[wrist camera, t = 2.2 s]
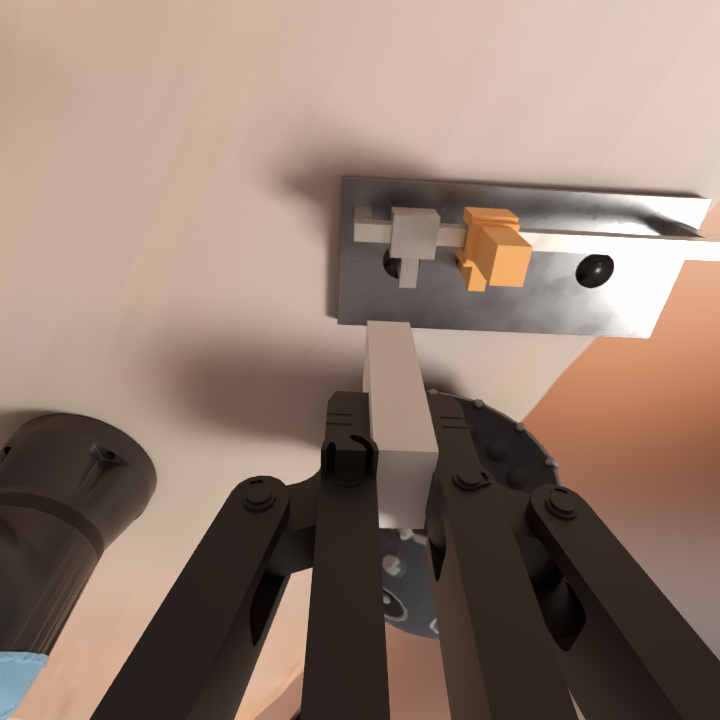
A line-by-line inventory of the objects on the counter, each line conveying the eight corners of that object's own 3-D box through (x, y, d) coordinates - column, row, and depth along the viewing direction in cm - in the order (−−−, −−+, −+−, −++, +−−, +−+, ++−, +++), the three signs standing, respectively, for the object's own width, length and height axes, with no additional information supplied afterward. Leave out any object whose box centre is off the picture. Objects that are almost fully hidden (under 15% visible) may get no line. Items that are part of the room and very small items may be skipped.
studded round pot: (328, 371, 43) (312, 560, 26) (530, 388, 44) (641, 578, 27) (321, 454, 48) (304, 654, 31) (501, 466, 50) (577, 665, 33)
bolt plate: (337, 319, 40) (337, 324, 39) (342, 176, 34) (342, 178, 33) (642, 332, 41) (649, 338, 40) (702, 196, 35) (712, 200, 34)
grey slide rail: (351, 260, 37) (351, 291, 31) (355, 192, 34) (355, 213, 29) (656, 275, 38) (708, 308, 33) (684, 210, 35) (746, 234, 30)
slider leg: (444, 270, 36) (471, 327, 28) (455, 197, 33) (491, 235, 25) (480, 272, 36) (519, 329, 28) (495, 199, 33) (544, 238, 25)
